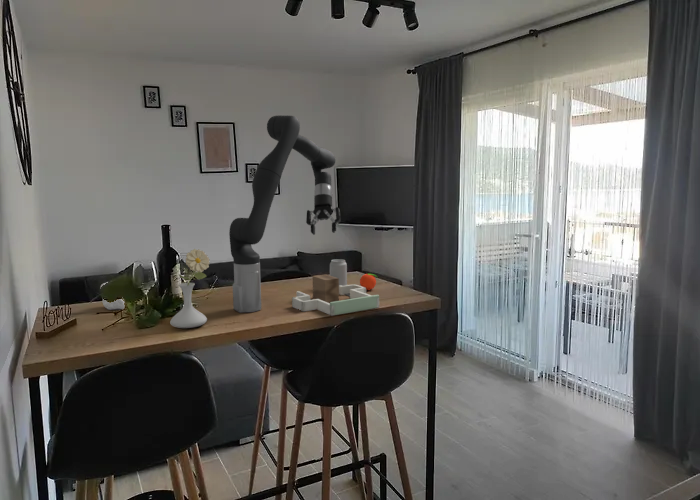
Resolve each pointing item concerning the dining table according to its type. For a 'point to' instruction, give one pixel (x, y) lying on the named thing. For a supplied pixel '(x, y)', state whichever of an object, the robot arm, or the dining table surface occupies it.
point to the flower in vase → (188, 313)
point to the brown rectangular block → (326, 288)
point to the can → (339, 271)
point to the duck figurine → (113, 303)
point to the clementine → (368, 281)
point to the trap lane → (338, 307)
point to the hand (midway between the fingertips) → (323, 233)
